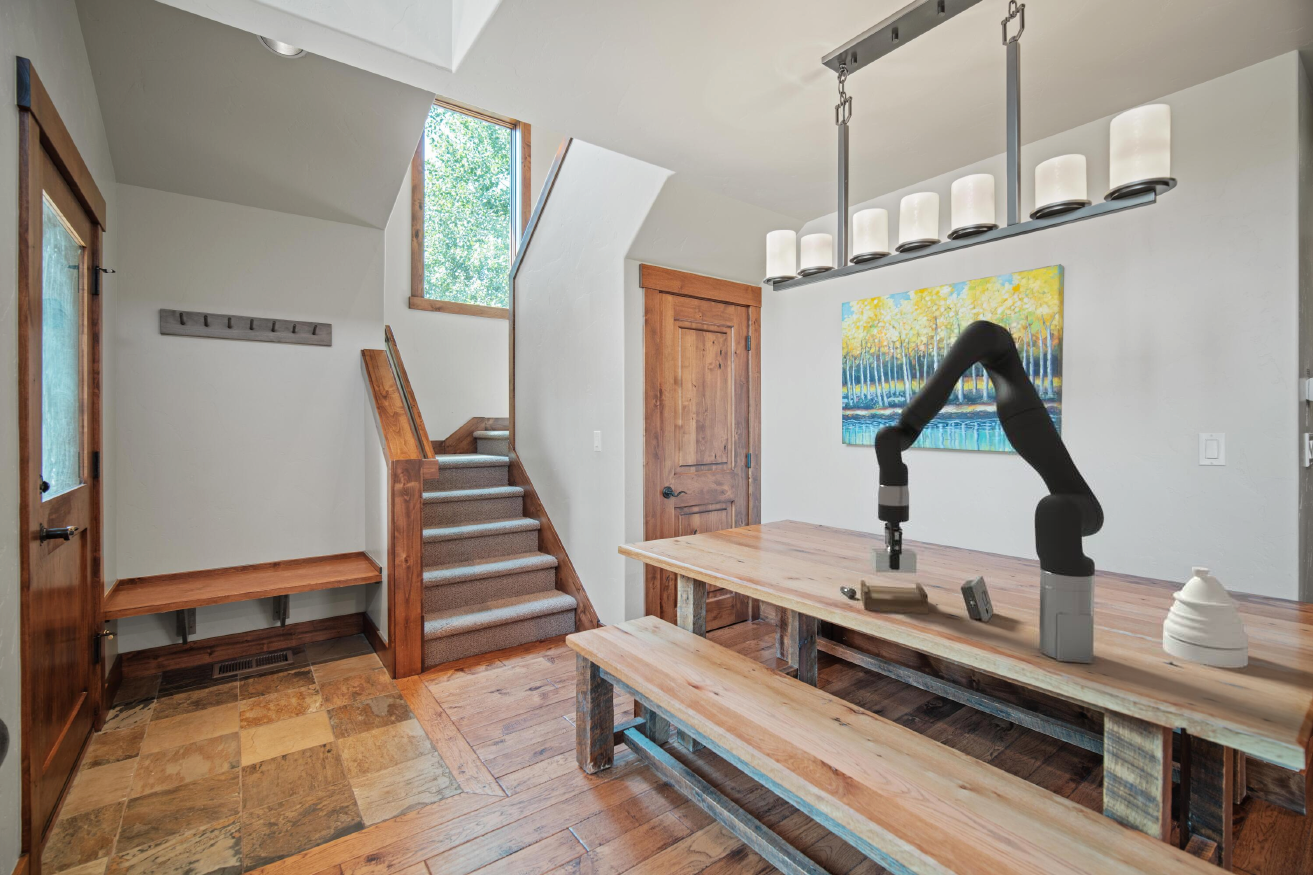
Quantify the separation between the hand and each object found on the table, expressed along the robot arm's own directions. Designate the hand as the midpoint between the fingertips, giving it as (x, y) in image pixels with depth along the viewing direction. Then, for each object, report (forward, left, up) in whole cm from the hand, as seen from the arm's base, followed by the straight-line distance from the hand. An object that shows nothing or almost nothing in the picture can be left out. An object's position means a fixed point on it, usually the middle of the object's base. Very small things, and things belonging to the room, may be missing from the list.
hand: (893, 566), depth 157 cm
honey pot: (-21, -57, -10) cm, 62 cm away
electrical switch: (-5, -19, -10) cm, 22 cm away
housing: (0, 0, -1) cm, 1 cm away
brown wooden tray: (0, 0, -10) cm, 10 cm away
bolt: (+6, +11, -10) cm, 16 cm away
